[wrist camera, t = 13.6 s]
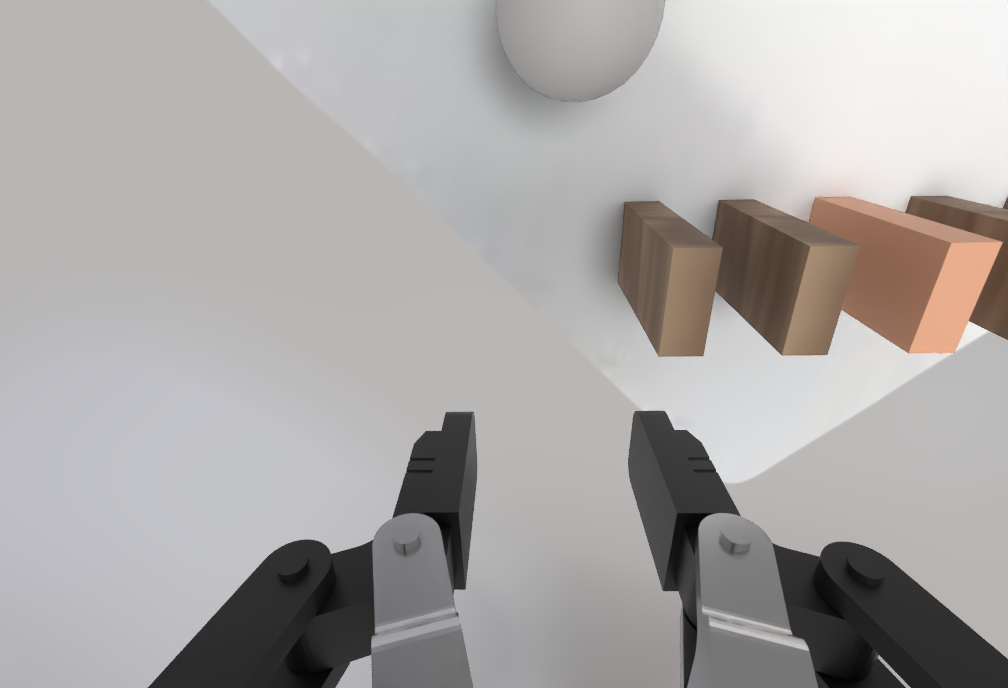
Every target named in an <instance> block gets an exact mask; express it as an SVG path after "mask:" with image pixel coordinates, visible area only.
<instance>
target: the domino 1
mask: <svg viewBox="0 0 1008 688" xmlns="http://www.w3.org/2000/svg"><path fill="white" fill-rule="evenodd" d="M722 249H723V247H721V246H720V245H718V244H717V243H716V242H714V241H713V240H712V239H710V238H709V237H707V236H706V235H705V234H703V233H702V232H700V231H699V230H698V229H696V228H695V227H694V226H692V225H691V224H689V223H688V222H687V221H685V220H684V219H683V218H681V217H680V216H678V215H677V214H676V213H674V212H673V211H672V210H670V209H669V208H667V207H666V206H665V205H663V204H662V203H661V202H659V201H651V202H625V206H624V217H623V229H622V241H621V253H620V264H619V276H618V283H619V285H620V287H621V289H622V291H623V293H624V294H625V296H626V298H627V300H628V302H629V303H630V305H631V307H632V309H633V311H634V313H635V314H636V316H637V318H638V320H639V322H640V323H641V325H642V327H643V329H644V331H645V333H646V334H647V336H648V338H649V340H650V342H651V344H652V345H653V347H654V349H655V351H656V353H657V354H658V356H659V357H663V356H703V355H704V349H705V344H706V338H707V332H708V327H709V321H710V316H711V310H712V305H713V299H714V294H715V288H716V282H717V277H718V271H719V266H720V260H721V255H722Z"/></svg>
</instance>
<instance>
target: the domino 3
mask: <svg viewBox="0 0 1008 688" xmlns="http://www.w3.org/2000/svg"><path fill="white" fill-rule="evenodd" d="M809 224H812V225H814V226H816V227H819V228H821V229H823V230H826V231H828V232H830V233H833V234H835V235H837V236H840V237H842V238H844V239H847V240H849V241H851V242H854V243H856V244H858V245H861V247H860V250H859V253H858V257H857V260H856V263H855V266H854V270H853V273H852V276H851V279H850V283H849V286H848V289H847V292H846V296H845V299H844V302H843V305H842V309H841V310H843V311H844V312H846V313H847V314H849V315H850V316H852V317H854V318H855V319H857V320H858V321H860V322H861V323H863V324H864V325H866V326H867V327H869V328H870V329H872V330H874V331H875V332H877V333H878V334H880V335H881V336H883V337H884V338H886V339H887V340H889V341H890V342H892V343H894V344H895V345H897V346H898V347H900V348H901V349H903V350H904V351H906V352H907V353H955V350H956V348H957V346H958V343H959V341H960V339H961V337H962V334H963V332H964V330H965V327H966V325H967V323H968V321H969V318H970V316H971V314H972V311H973V309H974V307H975V305H976V302H977V300H978V298H979V295H980V293H981V291H982V289H983V286H984V284H985V282H986V279H987V277H988V275H989V273H990V270H991V268H992V266H993V263H994V261H995V259H996V257H997V254H998V252H999V250H1000V247H1001V245H1002V243H1003V242H1001V241H998V240H995V239H991V238H988V237H984V236H981V235H978V234H974V233H971V232H968V231H964V230H961V229H957V228H954V227H951V226H947V225H944V224H941V223H937V222H934V221H930V220H927V219H924V218H920V217H917V216H914V215H910V214H907V213H903V212H900V211H897V210H893V209H890V208H886V207H883V206H880V205H876V204H873V203H870V202H866V201H863V200H859V199H856V198H853V197H817V198H815V201H814V205H813V209H812V213H811V217H810V221H809Z"/></svg>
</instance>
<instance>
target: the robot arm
mask: <svg viewBox="0 0 1008 688" xmlns="http://www.w3.org/2000/svg"><path fill="white" fill-rule="evenodd" d="M628 468H629V477H630V482H631V485H632V489H633V492H634V495H635V499H636V502H637V505H638V509H639V512H640V516H641V519H642V522H643V526H644V529H645V532H646V536H647V539H648V543H649V546H650V549H651V553H652V556H653V559H654V562H655V566H656V569H657V573H658V576H659V579H660V583H661V586H662V590H663V591H679V594H680V597H681V600H682V608H681V613H680V688H906V687H905V686H904V685H903V684H902V683H901V682H900V681H899V680H898V679H897V678H896V677H895V676H894V675H893V674H892V673H891V672H890V671H889V670H888V669H887V668H886V667H885V666H884V664H882V662H880V660H879V659H878V656H879V655H880V656H881V657H882V658H883V659H884V660H885V661H886V662H887V663H888V664H889V665H890V667H892V669H893V670H894V671H895V672H896V673H897V674H898V675H899V676H900V677H901V678H902V679H903V680H904V681H905V682H906V683H907V684H908V685H909V686H910V687H911V688H1008V659H1007V658H1006V657H1005V656H1003V655H1002V654H1001V653H1000V652H999V651H998V650H996V649H995V648H994V647H993V646H992V645H990V644H989V643H988V642H987V641H986V640H984V639H983V638H982V637H981V636H980V635H978V634H977V633H976V632H975V631H974V630H973V629H971V628H970V627H969V626H968V625H967V624H965V623H964V622H963V621H962V620H961V619H959V618H958V617H957V616H956V615H954V614H953V613H952V612H951V611H950V610H949V609H948V608H946V607H945V606H944V605H943V604H942V603H940V602H939V601H938V600H937V599H935V597H933V596H932V595H931V594H929V593H928V592H927V591H926V590H925V589H924V588H922V587H921V586H920V585H919V584H918V583H917V582H915V581H914V580H913V579H912V578H911V577H909V576H908V575H907V574H906V573H905V572H904V571H902V570H901V569H900V568H899V567H898V566H896V565H895V564H894V563H893V562H892V561H890V560H889V559H887V558H886V557H885V556H883V555H882V554H880V553H878V552H876V551H874V550H873V549H870V548H868V547H865V546H863V545H859V544H856V543H851V542H834V543H831V544H829V545H827V546H826V547H825V548H824V549H823V550H822V552H821V555H820V557H818V556H814V555H811V554H807V553H802V552H799V551H795V550H791V549H787V548H783V547H780V546H777V545H775V544H773V543H772V542H771V540H770V538H769V537H768V536H767V534H766V533H765V532H764V531H763V530H762V529H761V528H760V527H759V526H757V525H756V524H755V523H753V522H751V521H750V520H748V519H746V518H743V517H741V516H740V514H739V512H738V510H737V508H736V506H735V504H734V503H733V501H732V499H731V497H730V495H729V493H728V491H727V490H726V488H725V486H724V484H723V482H722V480H721V478H720V476H719V475H718V473H716V469H715V467H714V465H713V463H712V461H711V460H709V456H708V454H707V452H706V450H705V448H704V447H703V445H702V443H701V442H700V441H699V440H698V439H696V438H695V437H694V436H693V435H692V434H690V433H689V432H688V431H687V430H674V428H673V426H672V424H671V422H670V420H669V418H668V416H667V414H666V412H665V411H635V413H634V416H633V423H632V432H631V440H630V449H629V458H628ZM476 482H477V451H476V434H475V418H474V412H446V414H445V418H444V422H443V427H442V431H426V432H425V433H424V434H423V435H422V436H421V437H420V438H419V439H418V440H417V441H416V443H415V444H414V446H413V450H412V453H411V457H410V461H409V463H408V467H407V473H406V474H405V477H404V480H403V484H402V487H401V491H400V494H399V497H398V501H397V504H396V508H395V511H394V514H393V517H392V519H390V520H389V521H387V522H386V523H385V524H383V525H382V526H381V527H380V528H379V530H378V531H377V532H376V535H375V536H374V539H373V540H372V541H370V542H368V543H366V544H364V545H362V546H358V547H356V548H351V549H348V550H344V551H340V552H337V553H333V554H331V553H330V551H329V549H328V548H327V546H326V545H324V544H323V543H321V542H319V541H315V540H299V541H294V542H291V543H288V544H286V545H284V546H282V547H280V548H279V549H277V550H275V551H274V552H273V553H271V554H270V555H269V556H268V557H267V558H266V559H265V560H264V561H263V562H262V563H261V564H260V565H259V567H258V568H257V569H256V570H255V571H254V572H253V573H252V574H251V575H250V576H249V578H248V579H247V580H246V581H245V582H244V583H243V584H242V585H241V586H240V587H239V588H238V590H237V591H236V592H235V593H234V594H233V595H232V596H231V597H230V598H229V600H228V601H227V602H226V603H225V604H224V605H223V606H222V607H221V608H220V609H219V611H218V612H217V613H216V614H215V615H214V616H213V617H212V618H211V619H210V620H209V621H208V622H207V624H206V625H205V626H204V627H203V628H202V629H201V630H200V631H199V632H198V633H197V635H196V636H195V637H194V638H193V639H192V640H191V641H190V642H189V643H188V644H187V645H186V647H185V648H184V649H183V650H182V651H181V652H180V653H179V654H178V655H177V656H176V658H175V659H174V660H173V661H172V662H171V663H170V664H169V665H168V666H167V667H166V668H165V670H164V671H163V672H162V673H161V674H160V675H159V676H158V677H157V678H156V679H155V680H154V682H153V683H152V684H151V685H150V686H149V687H148V688H335V687H336V685H337V684H338V682H339V681H340V678H341V677H342V675H343V674H344V672H345V671H346V669H347V667H348V665H349V664H350V662H351V661H353V660H357V659H359V658H363V657H366V656H369V655H371V658H372V688H473V683H472V678H471V673H470V668H469V663H468V658H467V653H466V648H465V643H464V638H463V633H462V628H461V623H460V619H459V615H458V612H456V608H455V603H454V598H453V594H454V589H461V590H462V589H466V579H467V569H468V560H469V549H470V540H471V530H472V521H473V511H474V502H475V491H476Z"/></svg>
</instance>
